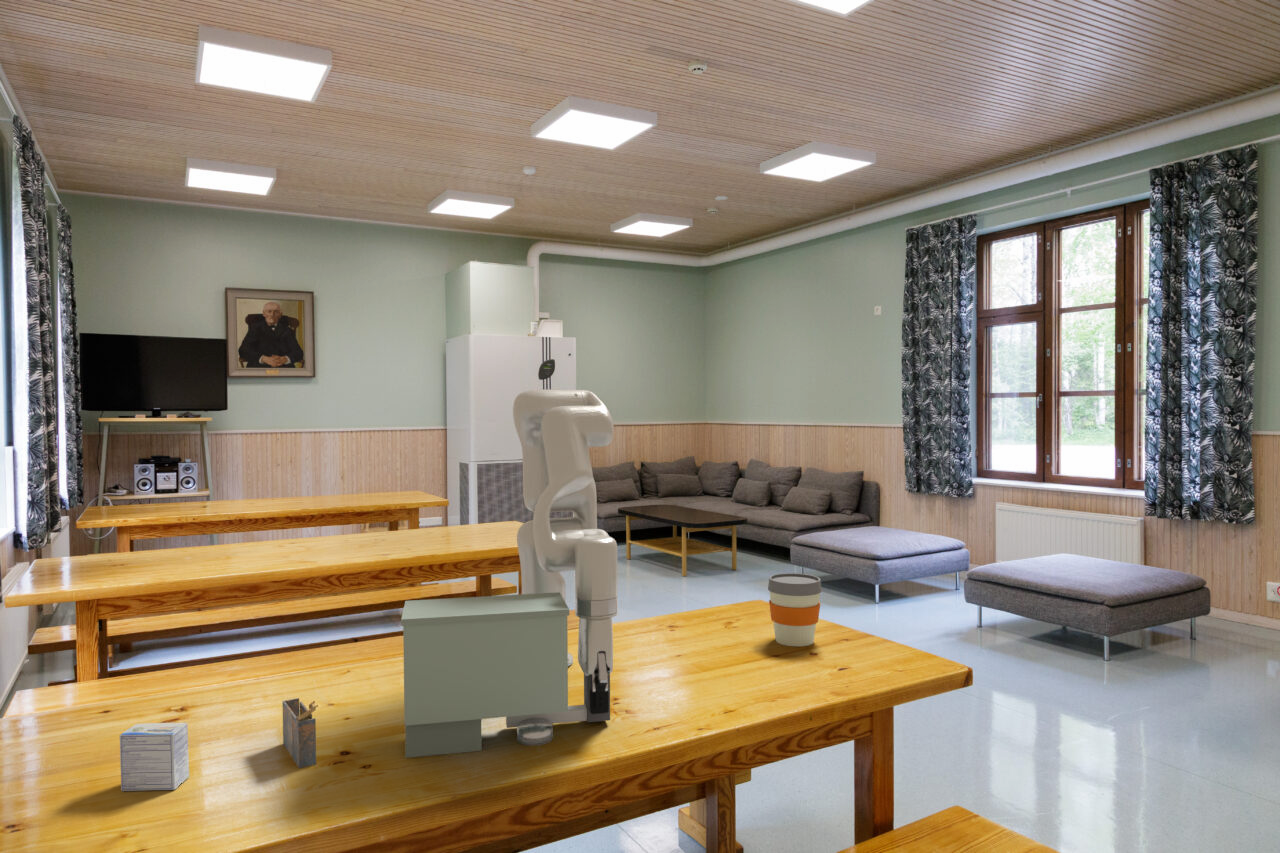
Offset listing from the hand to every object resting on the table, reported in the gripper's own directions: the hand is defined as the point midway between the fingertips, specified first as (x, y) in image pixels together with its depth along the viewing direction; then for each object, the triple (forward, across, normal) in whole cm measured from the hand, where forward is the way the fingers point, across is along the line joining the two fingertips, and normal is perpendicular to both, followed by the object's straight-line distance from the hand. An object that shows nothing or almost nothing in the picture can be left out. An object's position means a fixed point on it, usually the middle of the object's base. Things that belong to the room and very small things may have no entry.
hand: (597, 707), depth 147 cm
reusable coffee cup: (+3, -38, +54) cm, 67 cm away
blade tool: (+2, 0, -7) cm, 7 cm away
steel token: (+3, +5, -12) cm, 13 cm away
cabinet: (+3, +4, -20) cm, 20 cm away
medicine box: (+3, +8, -68) cm, 69 cm away
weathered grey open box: (+3, +2, -50) cm, 50 cm away
